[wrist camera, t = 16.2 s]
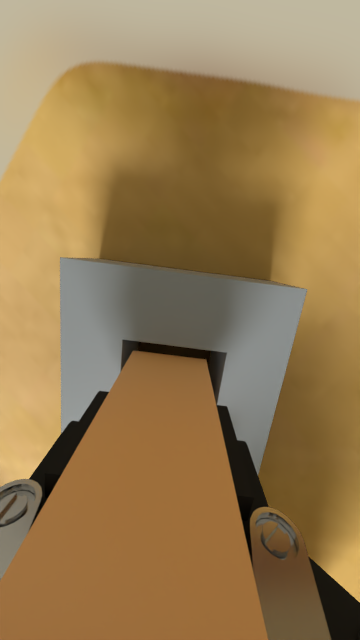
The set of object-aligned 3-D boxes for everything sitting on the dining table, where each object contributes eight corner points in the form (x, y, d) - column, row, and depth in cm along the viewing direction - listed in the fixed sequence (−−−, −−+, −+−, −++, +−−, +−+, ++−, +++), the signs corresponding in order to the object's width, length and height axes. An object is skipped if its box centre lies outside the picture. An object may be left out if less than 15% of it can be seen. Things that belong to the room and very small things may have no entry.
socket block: (270, 280, 16) (307, 289, 11) (221, 500, 21) (232, 572, 16) (98, 258, 16) (60, 257, 11) (91, 484, 21) (62, 551, 16)
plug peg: (195, 421, 13) (269, 1463, 2) (128, 413, 13) (-249, 1431, 2) (206, 359, 12) (526, 1806, 1) (133, 350, 12) (-674, 1749, 1)
